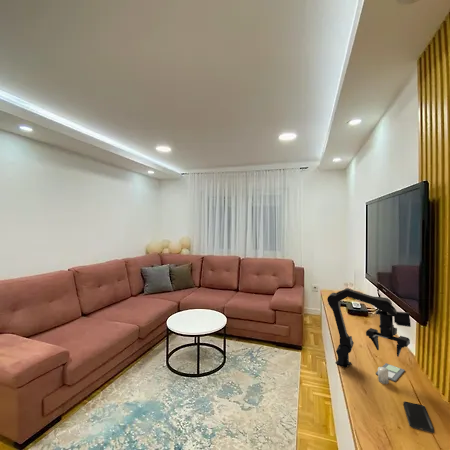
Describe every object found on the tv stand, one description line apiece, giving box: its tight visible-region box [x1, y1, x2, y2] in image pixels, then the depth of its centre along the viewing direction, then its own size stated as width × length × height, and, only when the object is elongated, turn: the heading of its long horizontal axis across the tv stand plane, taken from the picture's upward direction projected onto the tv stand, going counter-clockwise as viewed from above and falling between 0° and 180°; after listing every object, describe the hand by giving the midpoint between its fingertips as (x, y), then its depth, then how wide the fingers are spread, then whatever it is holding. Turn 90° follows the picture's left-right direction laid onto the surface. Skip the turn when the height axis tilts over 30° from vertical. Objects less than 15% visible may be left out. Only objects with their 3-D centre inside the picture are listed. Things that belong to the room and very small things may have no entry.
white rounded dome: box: [377, 366, 390, 385], centre depth 128 cm, size 4×4×6 cm
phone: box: [402, 400, 435, 434], centre depth 104 cm, size 8×1×15 cm
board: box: [375, 362, 406, 383], centre depth 135 cm, size 14×9×1 cm, turn 129°
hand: (387, 353), depth 134 cm, fingers open, 9 cm apart
